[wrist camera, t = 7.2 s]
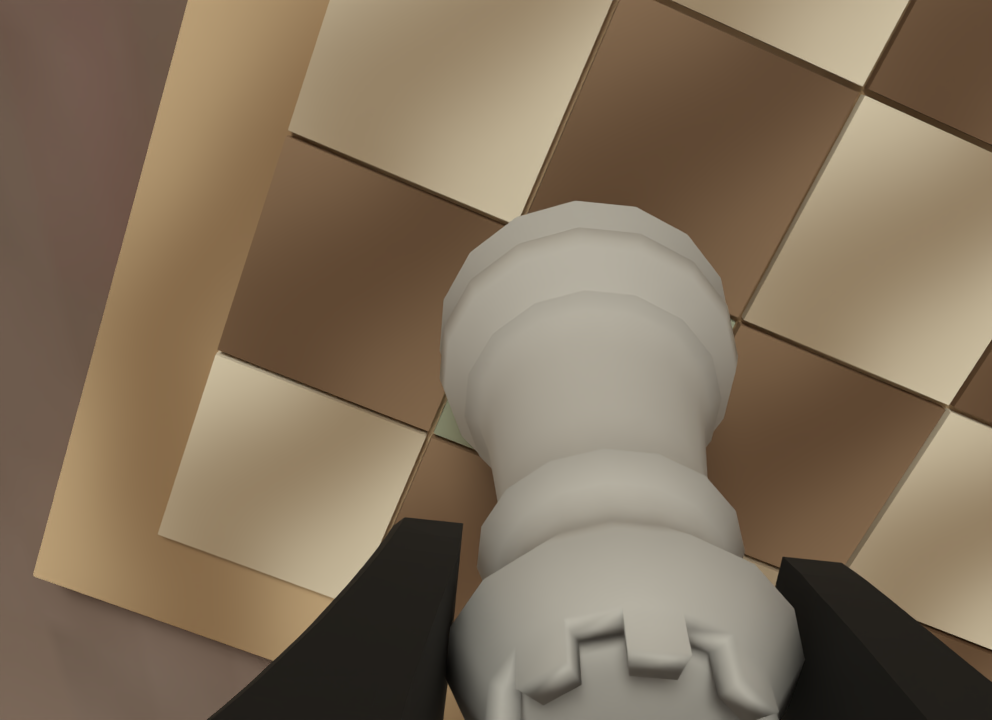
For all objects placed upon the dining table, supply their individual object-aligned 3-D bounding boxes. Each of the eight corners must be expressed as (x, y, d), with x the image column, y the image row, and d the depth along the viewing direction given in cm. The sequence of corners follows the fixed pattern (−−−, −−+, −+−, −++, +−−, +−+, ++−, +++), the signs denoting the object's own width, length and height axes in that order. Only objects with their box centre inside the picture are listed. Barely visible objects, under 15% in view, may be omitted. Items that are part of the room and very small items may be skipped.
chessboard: (1633, -32, 14) (1712, -35, 13) (920, 862, 21) (938, 902, 20) (391, -674, 12) (379, -732, 11) (52, 552, 19) (27, 582, 18)
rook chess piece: (773, 239, 14) (1023, 634, 7) (661, 471, 16) (766, 955, 9) (486, 151, 13) (443, 482, 6) (410, 403, 15) (315, 861, 8)
